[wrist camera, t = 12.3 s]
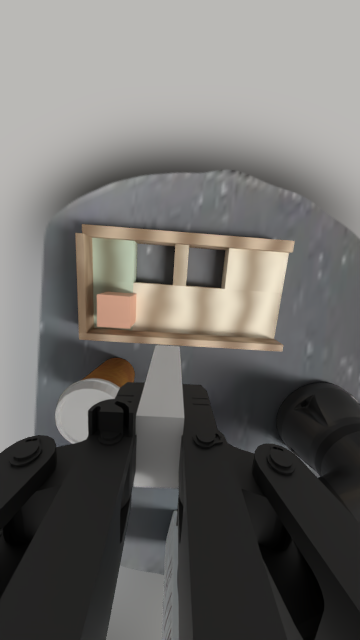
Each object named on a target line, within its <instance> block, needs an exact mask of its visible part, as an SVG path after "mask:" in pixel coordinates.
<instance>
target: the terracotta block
mask: <svg viewBox="0 0 360 640" xmlns="http://www.w3.org/2000/svg"><path fill="white" fill-rule="evenodd" d="M136 295H137V294H133V293H120V292H104V293H100V294H97V327H110V328H125V329H130V328H131V327H132V325H133V324H134V323H135V322H136Z"/></svg>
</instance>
